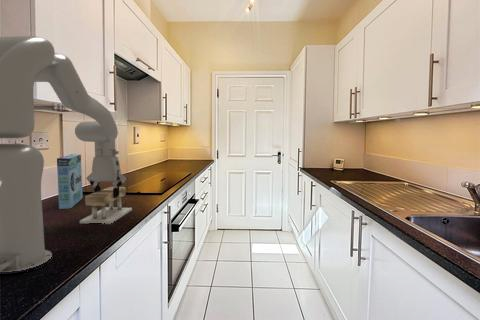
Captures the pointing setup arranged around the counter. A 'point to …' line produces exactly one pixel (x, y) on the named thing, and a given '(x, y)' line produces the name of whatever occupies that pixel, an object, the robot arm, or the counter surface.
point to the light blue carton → (69, 180)
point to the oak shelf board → (103, 196)
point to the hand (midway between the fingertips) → (107, 196)
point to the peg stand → (106, 213)
